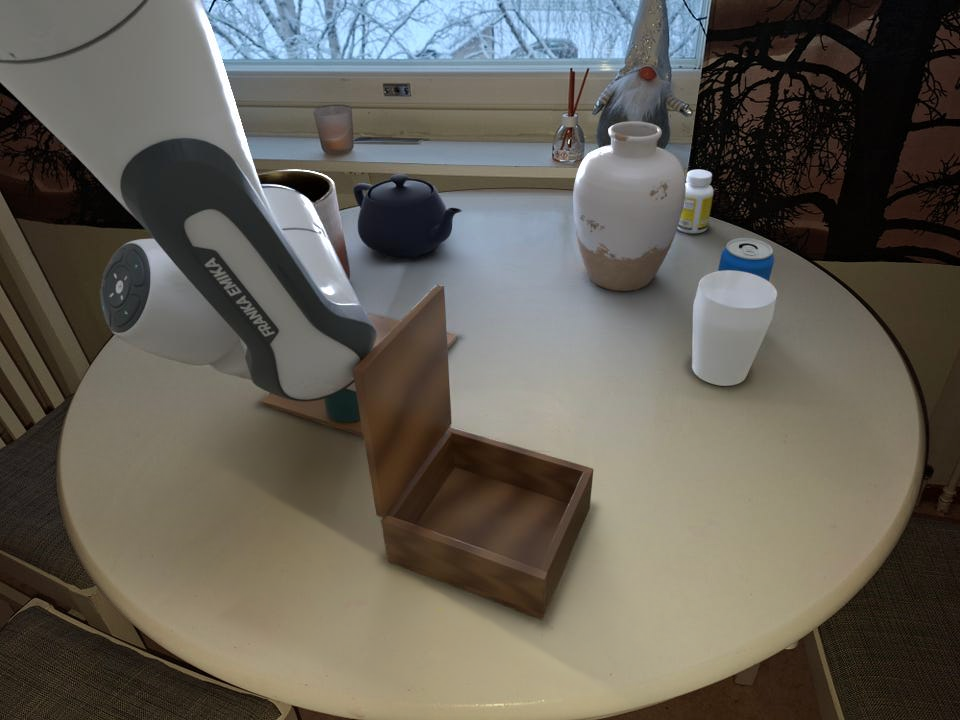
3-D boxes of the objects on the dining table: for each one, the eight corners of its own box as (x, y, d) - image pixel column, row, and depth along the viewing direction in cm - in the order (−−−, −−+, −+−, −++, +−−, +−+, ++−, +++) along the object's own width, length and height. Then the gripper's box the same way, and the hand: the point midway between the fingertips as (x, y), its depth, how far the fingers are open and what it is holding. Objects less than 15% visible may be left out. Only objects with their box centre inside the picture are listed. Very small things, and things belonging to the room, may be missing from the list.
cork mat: (373, 439, 78) (372, 435, 77) (262, 404, 83) (261, 401, 83) (457, 338, 94) (457, 334, 93) (359, 314, 99) (359, 311, 99)
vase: (550, 284, 104) (556, 136, 91) (595, 243, 115) (606, 105, 101) (648, 313, 97) (669, 156, 84) (686, 266, 108) (711, 121, 94)
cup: (678, 348, 90) (692, 268, 83) (749, 351, 89) (770, 271, 82) (686, 390, 83) (702, 307, 76) (762, 395, 82) (786, 311, 75)
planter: (279, 253, 116) (258, 163, 106) (371, 269, 110) (358, 175, 101) (211, 306, 102) (181, 208, 93) (312, 326, 97) (290, 225, 88)
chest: (589, 508, 68) (593, 468, 65) (542, 620, 59) (544, 579, 55) (451, 465, 74) (448, 426, 70) (387, 561, 64) (380, 520, 61)
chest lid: (444, 285, 60) (436, 283, 60) (361, 372, 50) (352, 369, 51) (451, 423, 70) (445, 421, 70) (383, 518, 60) (375, 515, 60)
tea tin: (357, 428, 78) (342, 351, 71) (315, 415, 80) (298, 339, 73) (383, 398, 82) (372, 323, 76) (343, 387, 84) (328, 312, 78)
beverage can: (752, 314, 96) (771, 237, 89) (759, 340, 91) (780, 261, 84) (705, 311, 97) (720, 235, 90) (709, 337, 92) (726, 258, 85)
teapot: (327, 242, 119) (315, 174, 111) (392, 212, 128) (384, 148, 121) (430, 286, 105) (424, 212, 98) (494, 249, 114) (493, 179, 107)
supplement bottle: (704, 221, 121) (714, 167, 115) (709, 234, 116) (719, 180, 110) (673, 220, 121) (681, 167, 115) (676, 234, 117) (685, 179, 111)
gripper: (356, 336, 61) (428, 366, 73) (206, 279, 70) (292, 315, 83) (330, 401, 61) (407, 420, 73) (183, 336, 70) (273, 363, 82)
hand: (345, 364), depth 78 cm, fingers closed on tea tin, 5 cm apart
